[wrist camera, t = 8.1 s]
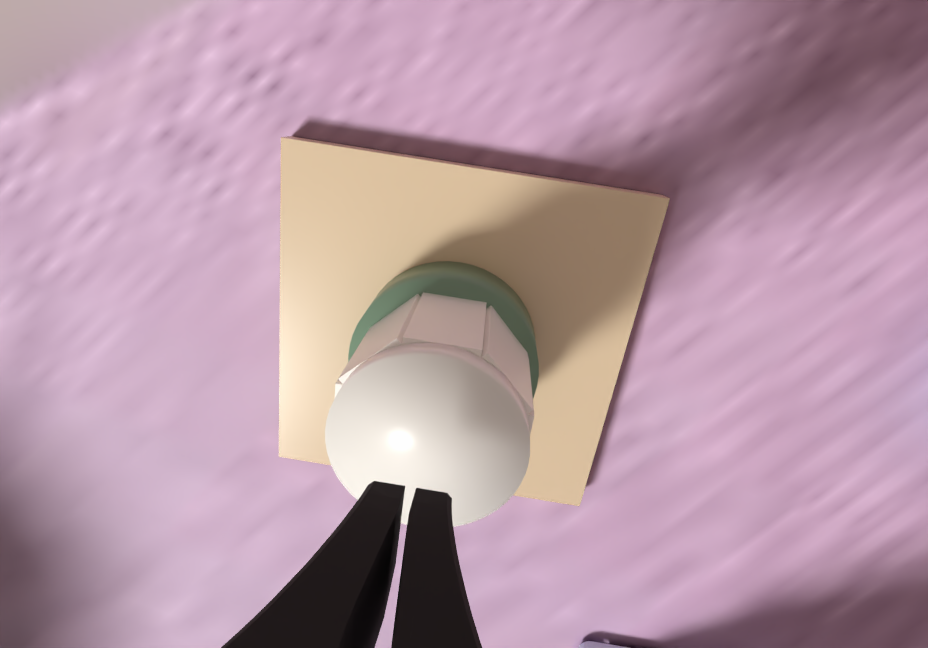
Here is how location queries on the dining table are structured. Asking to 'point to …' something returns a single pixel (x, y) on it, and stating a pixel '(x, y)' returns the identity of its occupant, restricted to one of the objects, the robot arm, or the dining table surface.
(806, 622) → the dining table surface
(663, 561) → the dining table surface
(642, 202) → the beige square tray
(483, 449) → the cap
